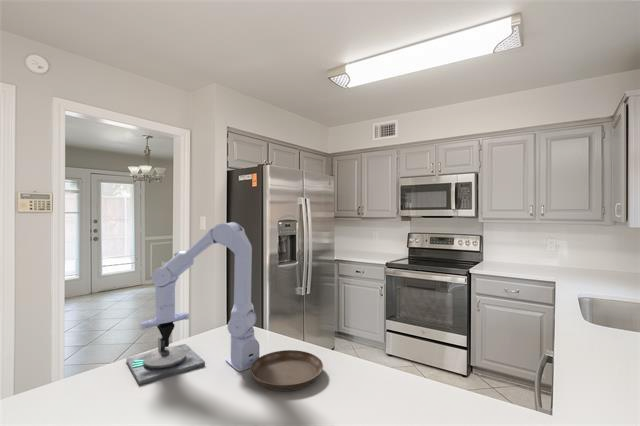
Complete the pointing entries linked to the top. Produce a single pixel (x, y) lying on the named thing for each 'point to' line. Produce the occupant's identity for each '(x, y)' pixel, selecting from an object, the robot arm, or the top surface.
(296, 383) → the plant saucer
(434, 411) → the top surface
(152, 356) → the dial
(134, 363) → the panel
